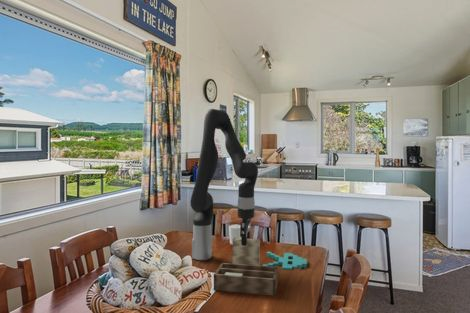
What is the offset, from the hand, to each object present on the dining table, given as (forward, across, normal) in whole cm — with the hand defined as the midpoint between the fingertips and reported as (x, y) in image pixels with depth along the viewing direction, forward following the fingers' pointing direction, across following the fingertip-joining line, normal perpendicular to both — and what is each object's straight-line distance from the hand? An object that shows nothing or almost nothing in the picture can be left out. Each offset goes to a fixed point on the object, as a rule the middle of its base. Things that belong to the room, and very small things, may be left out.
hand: (245, 242), depth 148 cm
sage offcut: (+12, +19, -2) cm, 22 cm away
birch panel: (+14, 0, 0) cm, 14 cm away
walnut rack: (+14, +16, +3) cm, 21 cm away
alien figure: (+14, -14, +17) cm, 26 cm away
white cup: (+14, -40, -13) cm, 44 cm away
